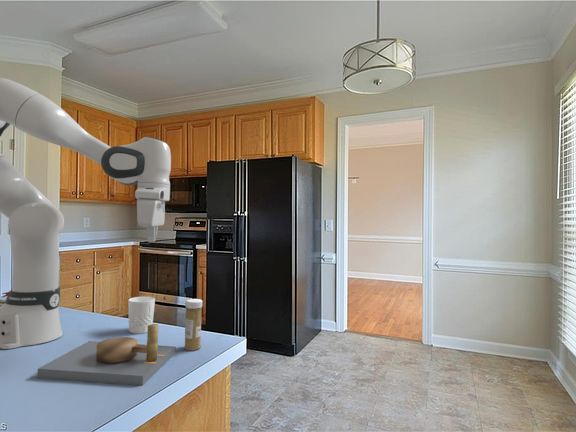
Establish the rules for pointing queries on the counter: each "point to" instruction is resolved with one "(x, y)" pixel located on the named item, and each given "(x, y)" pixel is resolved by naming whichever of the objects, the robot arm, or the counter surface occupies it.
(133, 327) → the white cup
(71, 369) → the stand
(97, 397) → the counter surface
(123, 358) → the dial
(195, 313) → the sprinkles bottle
